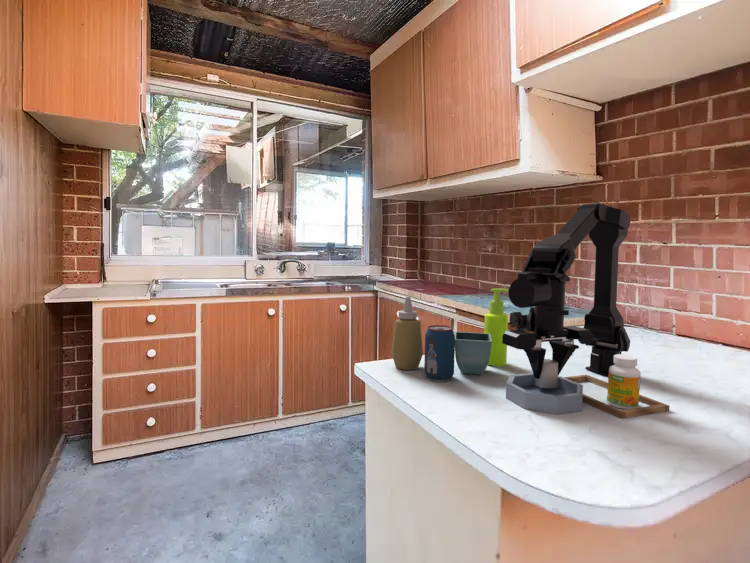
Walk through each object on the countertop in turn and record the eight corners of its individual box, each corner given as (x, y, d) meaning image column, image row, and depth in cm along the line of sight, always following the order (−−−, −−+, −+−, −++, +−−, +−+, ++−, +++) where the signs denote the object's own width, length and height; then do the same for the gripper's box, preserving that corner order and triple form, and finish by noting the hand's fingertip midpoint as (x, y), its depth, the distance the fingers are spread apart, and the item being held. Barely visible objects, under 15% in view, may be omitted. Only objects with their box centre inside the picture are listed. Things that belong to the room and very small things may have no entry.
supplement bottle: (605, 406, 82) (608, 357, 81) (608, 397, 87) (610, 351, 86) (637, 412, 79) (641, 362, 78) (639, 403, 84) (642, 355, 83)
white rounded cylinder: (547, 380, 91) (548, 358, 91) (562, 387, 87) (563, 363, 87) (530, 382, 90) (531, 359, 89) (544, 389, 86) (545, 365, 85)
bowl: (547, 385, 94) (548, 371, 94) (598, 408, 81) (599, 392, 81) (494, 391, 90) (494, 376, 90) (538, 416, 77) (539, 399, 76)
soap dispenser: (506, 368, 107) (509, 290, 105) (480, 364, 110) (482, 288, 109) (512, 363, 112) (515, 288, 110) (487, 359, 115) (489, 286, 114)
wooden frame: (586, 378, 99) (586, 374, 99) (669, 410, 80) (669, 405, 80) (544, 383, 95) (544, 379, 95) (621, 418, 76) (621, 413, 76)
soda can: (453, 373, 102) (454, 325, 101) (454, 383, 95) (455, 331, 94) (424, 372, 103) (425, 324, 102) (423, 381, 96) (424, 329, 95)
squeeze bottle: (389, 362, 111) (390, 295, 109) (419, 362, 112) (420, 295, 110) (393, 372, 103) (394, 299, 101) (425, 371, 104) (427, 299, 102)
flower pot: (491, 378, 99) (492, 340, 98) (453, 375, 101) (454, 338, 100) (488, 367, 108) (489, 333, 107) (453, 365, 109) (454, 331, 108)
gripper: (557, 297, 98) (554, 363, 99) (488, 300, 92) (486, 370, 93) (596, 304, 87) (592, 377, 88) (521, 307, 81) (518, 386, 83)
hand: (546, 377), depth 88 cm, fingers closed on white rounded cylinder, 4 cm apart
